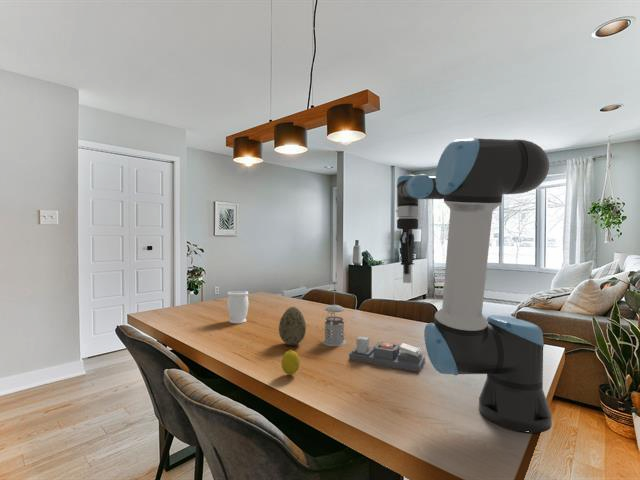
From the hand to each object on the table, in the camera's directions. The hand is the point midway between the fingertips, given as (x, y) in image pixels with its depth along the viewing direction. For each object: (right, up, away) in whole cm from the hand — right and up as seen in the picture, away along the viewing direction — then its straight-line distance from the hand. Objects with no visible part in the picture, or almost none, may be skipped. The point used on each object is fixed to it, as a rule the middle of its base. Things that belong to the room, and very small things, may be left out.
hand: (407, 282), depth 121 cm
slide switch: (-17, -24, -5) cm, 30 cm away
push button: (-9, -24, -6) cm, 26 cm away
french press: (-26, -26, +14) cm, 40 cm away
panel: (-9, -26, -6) cm, 28 cm away
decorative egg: (-43, -26, +10) cm, 52 cm away
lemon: (-41, -27, -19) cm, 53 cm away
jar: (-73, -26, +45) cm, 90 cm away
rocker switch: (-2, -22, -10) cm, 24 cm away
